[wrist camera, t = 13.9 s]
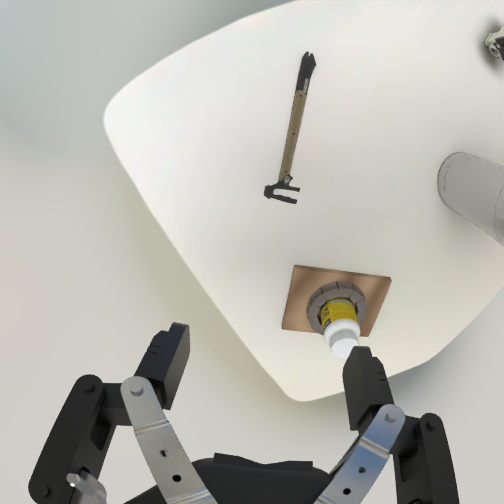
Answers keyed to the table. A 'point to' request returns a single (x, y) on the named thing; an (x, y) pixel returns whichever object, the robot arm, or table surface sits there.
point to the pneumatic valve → (496, 43)
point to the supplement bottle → (340, 326)
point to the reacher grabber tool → (293, 130)
